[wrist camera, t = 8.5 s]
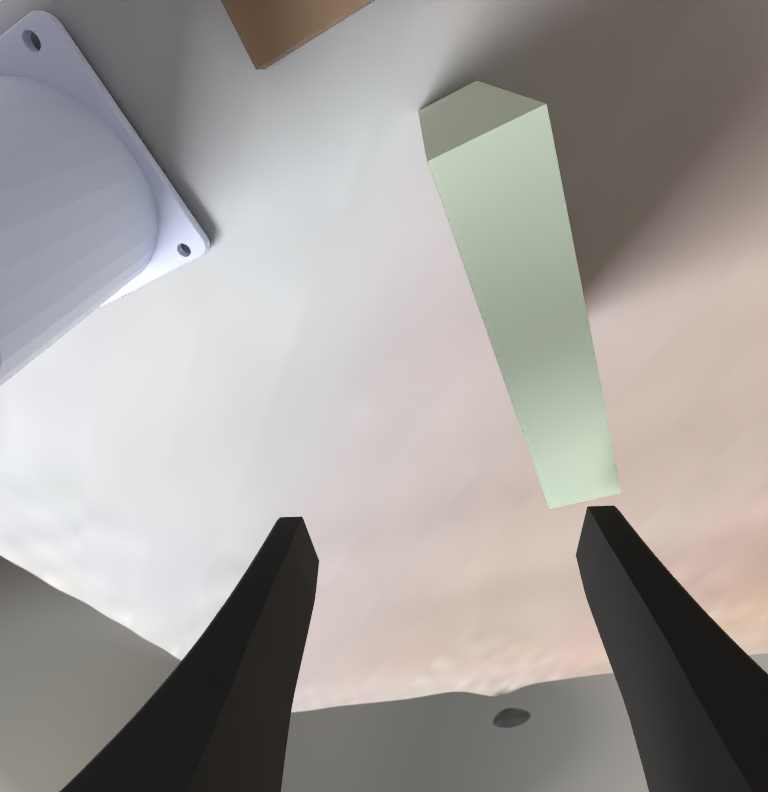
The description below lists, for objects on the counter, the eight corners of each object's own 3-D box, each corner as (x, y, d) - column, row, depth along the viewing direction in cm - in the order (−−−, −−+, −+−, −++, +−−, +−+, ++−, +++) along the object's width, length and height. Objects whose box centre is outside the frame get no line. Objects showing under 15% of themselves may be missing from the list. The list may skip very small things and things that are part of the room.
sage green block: (499, 348, 20) (549, 509, 13) (417, 110, 15) (427, 161, 7) (543, 333, 19) (621, 492, 12) (476, 80, 14) (546, 104, 7)
